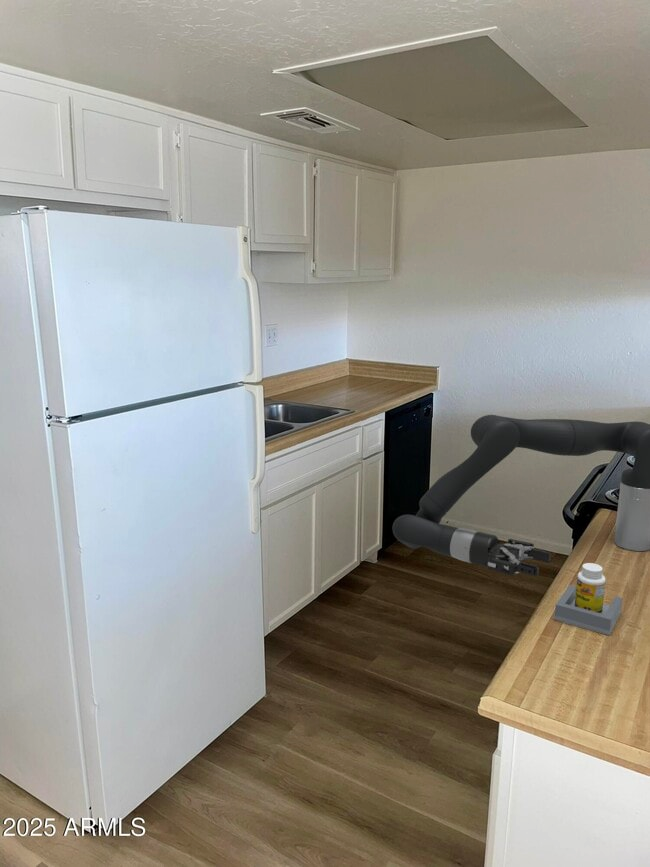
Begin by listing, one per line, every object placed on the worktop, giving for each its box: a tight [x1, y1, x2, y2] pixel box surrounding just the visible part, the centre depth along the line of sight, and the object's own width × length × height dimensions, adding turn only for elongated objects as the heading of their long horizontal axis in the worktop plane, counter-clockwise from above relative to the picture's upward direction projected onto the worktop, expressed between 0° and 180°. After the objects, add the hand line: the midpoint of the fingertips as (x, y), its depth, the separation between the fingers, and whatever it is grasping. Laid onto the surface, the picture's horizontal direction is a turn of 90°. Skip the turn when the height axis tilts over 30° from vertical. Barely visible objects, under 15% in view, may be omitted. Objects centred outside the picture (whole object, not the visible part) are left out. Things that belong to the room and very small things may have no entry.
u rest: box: [553, 584, 623, 636], centre depth 140 cm, size 11×11×4 cm
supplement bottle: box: [575, 562, 607, 613], centre depth 139 cm, size 6×6×10 cm
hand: (544, 564), depth 144 cm, fingers open, 8 cm apart
